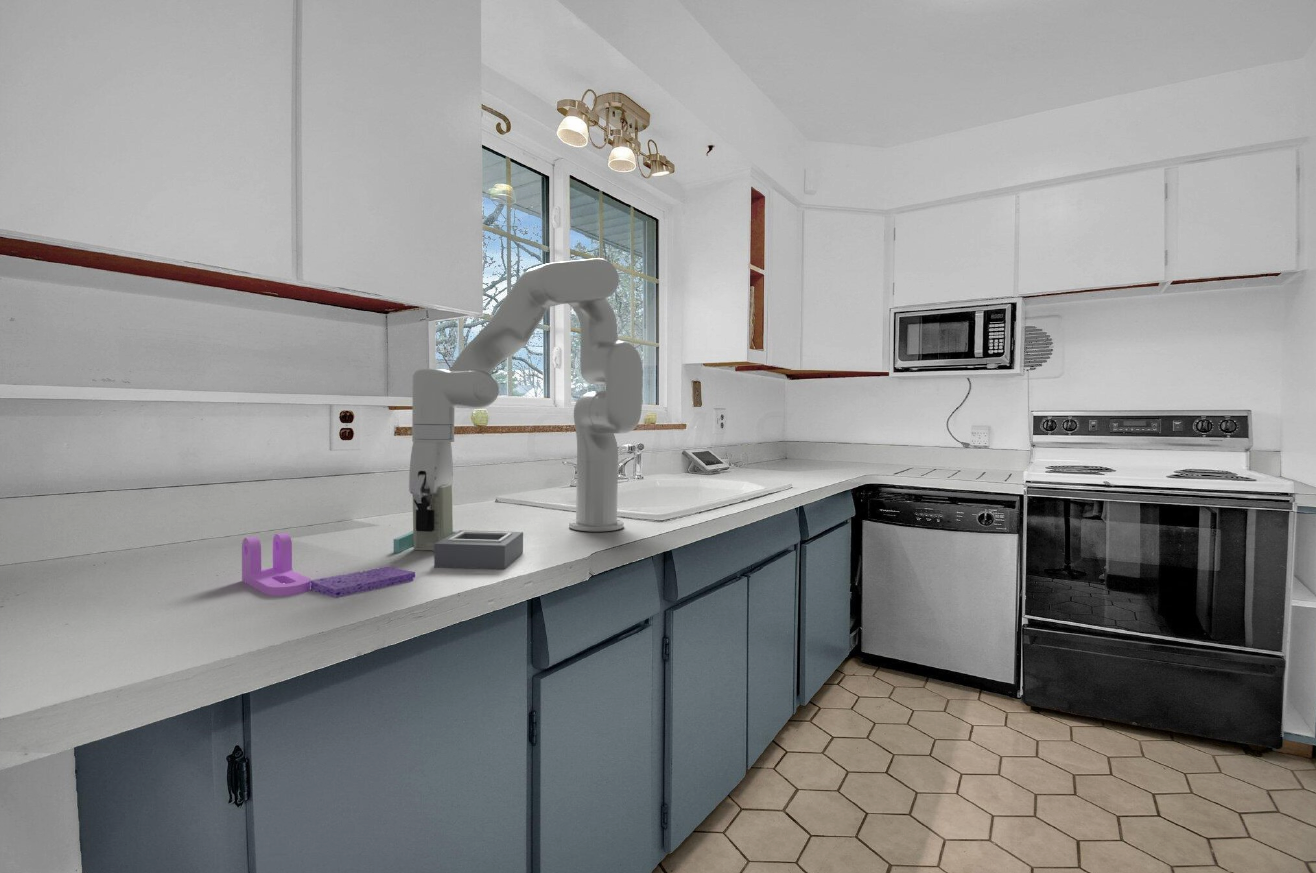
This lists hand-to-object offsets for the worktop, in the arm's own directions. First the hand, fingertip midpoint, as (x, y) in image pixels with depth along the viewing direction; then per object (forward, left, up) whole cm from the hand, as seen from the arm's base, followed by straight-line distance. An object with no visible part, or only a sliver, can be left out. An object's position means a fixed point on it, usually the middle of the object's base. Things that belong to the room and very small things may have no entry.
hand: (432, 526), depth 117 cm
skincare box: (0, 0, -4) cm, 4 cm away
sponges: (+25, 0, -5) cm, 25 cm away
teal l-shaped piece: (0, 0, -4) cm, 4 cm away
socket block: (+8, +12, -4) cm, 15 cm away
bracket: (+27, -12, -5) cm, 30 cm away
